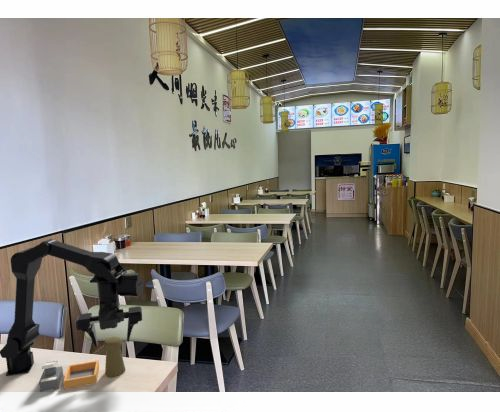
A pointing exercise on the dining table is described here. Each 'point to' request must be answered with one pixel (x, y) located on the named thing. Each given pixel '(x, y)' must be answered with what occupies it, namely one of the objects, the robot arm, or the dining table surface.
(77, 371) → the orange square tray
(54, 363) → the breaker rocker
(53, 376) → the breaker box
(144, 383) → the dining table surface
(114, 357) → the olive vase
